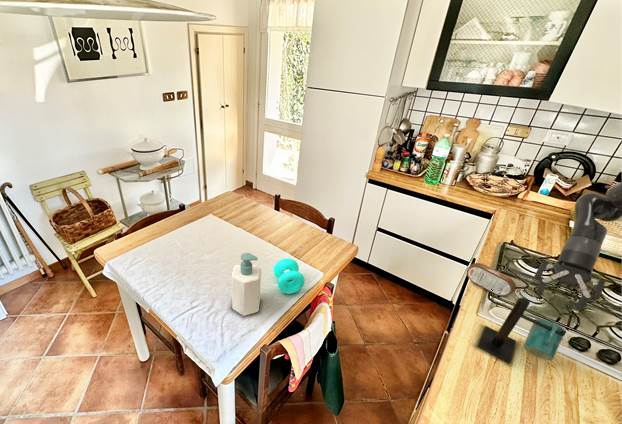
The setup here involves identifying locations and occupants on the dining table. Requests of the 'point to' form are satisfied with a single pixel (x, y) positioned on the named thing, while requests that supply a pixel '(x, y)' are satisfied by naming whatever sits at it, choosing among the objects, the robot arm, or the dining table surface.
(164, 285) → the dining table surface
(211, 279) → the dining table surface
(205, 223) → the dining table surface
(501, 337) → the mug stand
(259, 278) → the soap bottle
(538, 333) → the mug
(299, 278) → the turquoise dumbbell
